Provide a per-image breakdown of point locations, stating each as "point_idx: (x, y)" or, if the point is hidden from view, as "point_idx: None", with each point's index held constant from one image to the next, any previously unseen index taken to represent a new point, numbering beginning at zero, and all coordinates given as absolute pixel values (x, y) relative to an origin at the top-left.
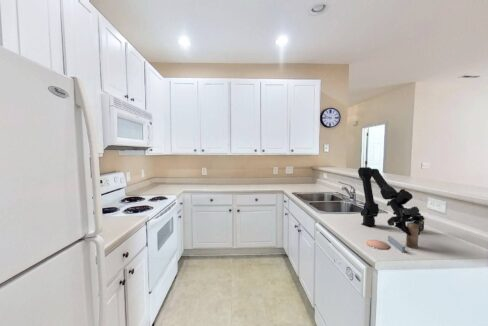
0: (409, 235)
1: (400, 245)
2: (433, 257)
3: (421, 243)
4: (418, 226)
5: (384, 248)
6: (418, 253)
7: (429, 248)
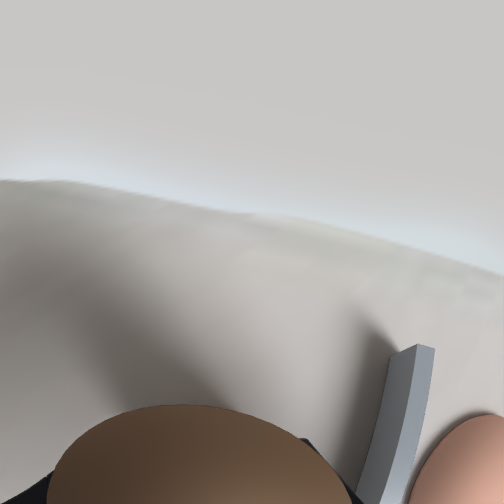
0: None
1: (429, 377)
2: (237, 244)
3: None
4: (138, 412)
5: (482, 416)
6: (291, 323)
7: (91, 370)
